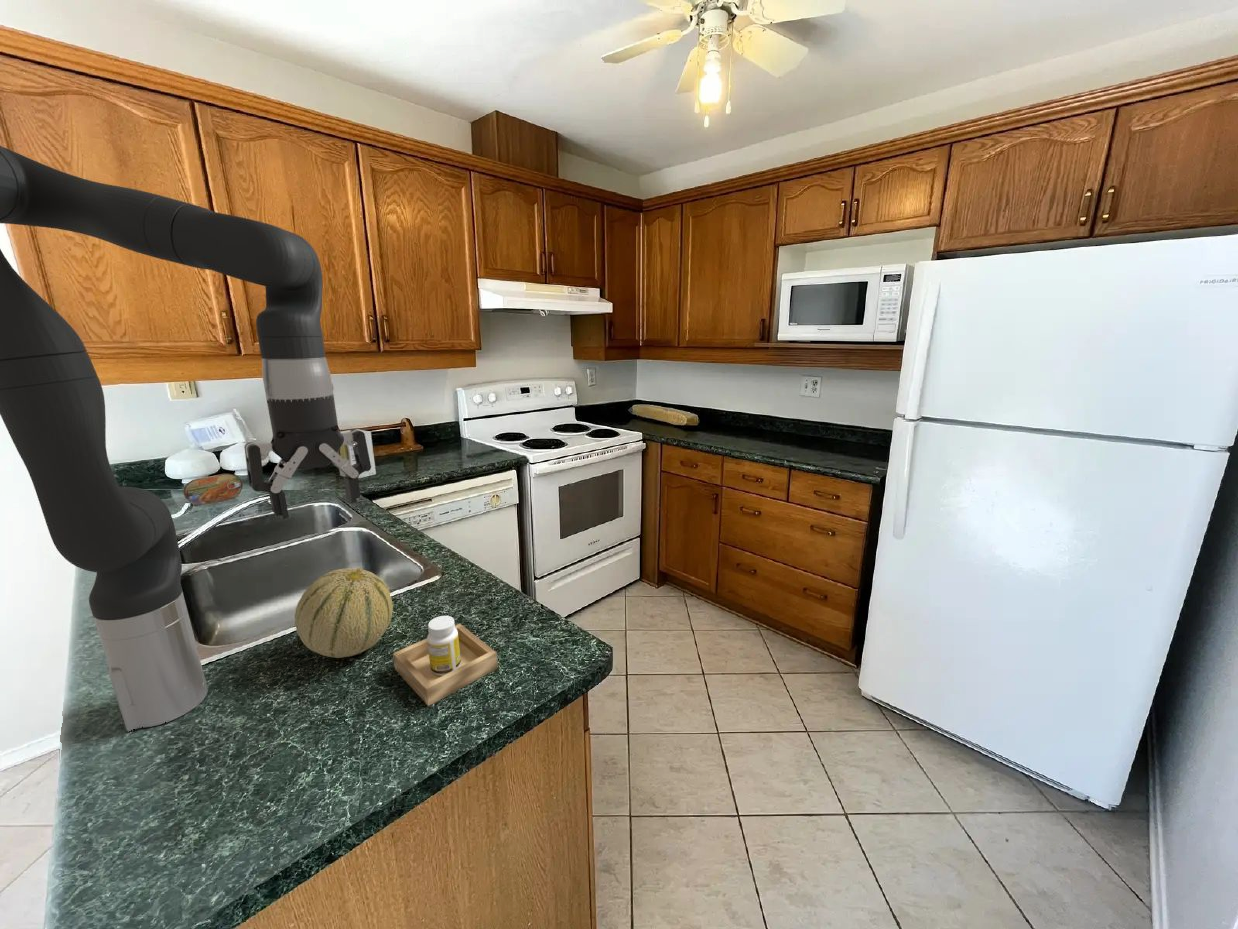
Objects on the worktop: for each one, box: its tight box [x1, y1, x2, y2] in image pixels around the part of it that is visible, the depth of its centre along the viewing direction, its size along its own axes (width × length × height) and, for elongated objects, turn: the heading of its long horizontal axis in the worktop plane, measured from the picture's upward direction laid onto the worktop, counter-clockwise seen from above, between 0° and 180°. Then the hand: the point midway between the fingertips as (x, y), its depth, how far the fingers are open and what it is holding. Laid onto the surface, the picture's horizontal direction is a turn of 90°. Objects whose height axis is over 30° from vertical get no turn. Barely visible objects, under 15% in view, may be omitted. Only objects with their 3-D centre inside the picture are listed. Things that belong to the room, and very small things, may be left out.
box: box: [392, 623, 499, 707], centre depth 82 cm, size 12×12×3 cm
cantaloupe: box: [294, 567, 394, 659], centre depth 86 cm, size 15×15×15 cm
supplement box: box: [338, 428, 377, 479], centre depth 189 cm, size 10×9×17 cm
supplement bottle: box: [426, 615, 461, 676], centre depth 81 cm, size 5×5×8 cm
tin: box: [183, 473, 244, 506], centre depth 161 cm, size 15×3×8 cm, turn 143°
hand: (319, 509), depth 70 cm, fingers open, 8 cm apart
